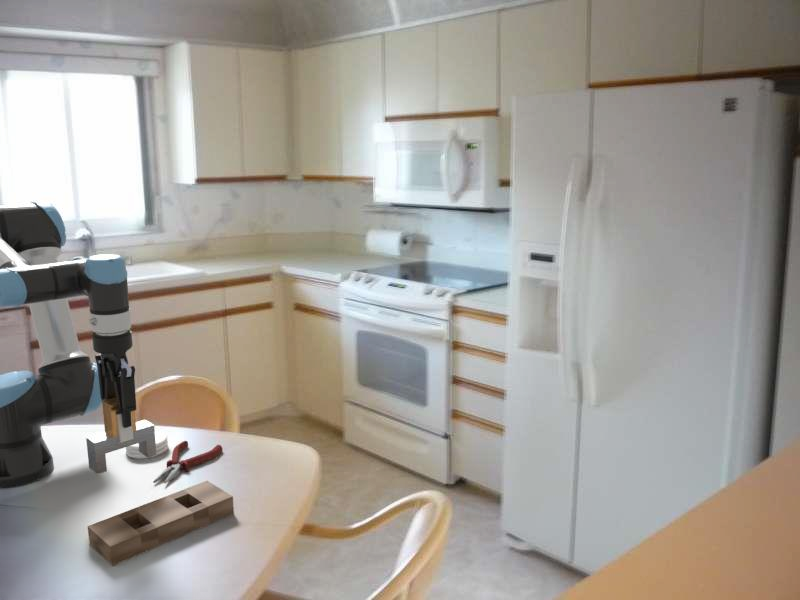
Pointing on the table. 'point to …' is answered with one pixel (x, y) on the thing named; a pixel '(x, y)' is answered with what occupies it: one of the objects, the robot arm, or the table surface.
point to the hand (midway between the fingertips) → (121, 436)
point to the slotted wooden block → (159, 522)
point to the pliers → (186, 461)
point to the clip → (110, 438)
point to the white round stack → (160, 447)
